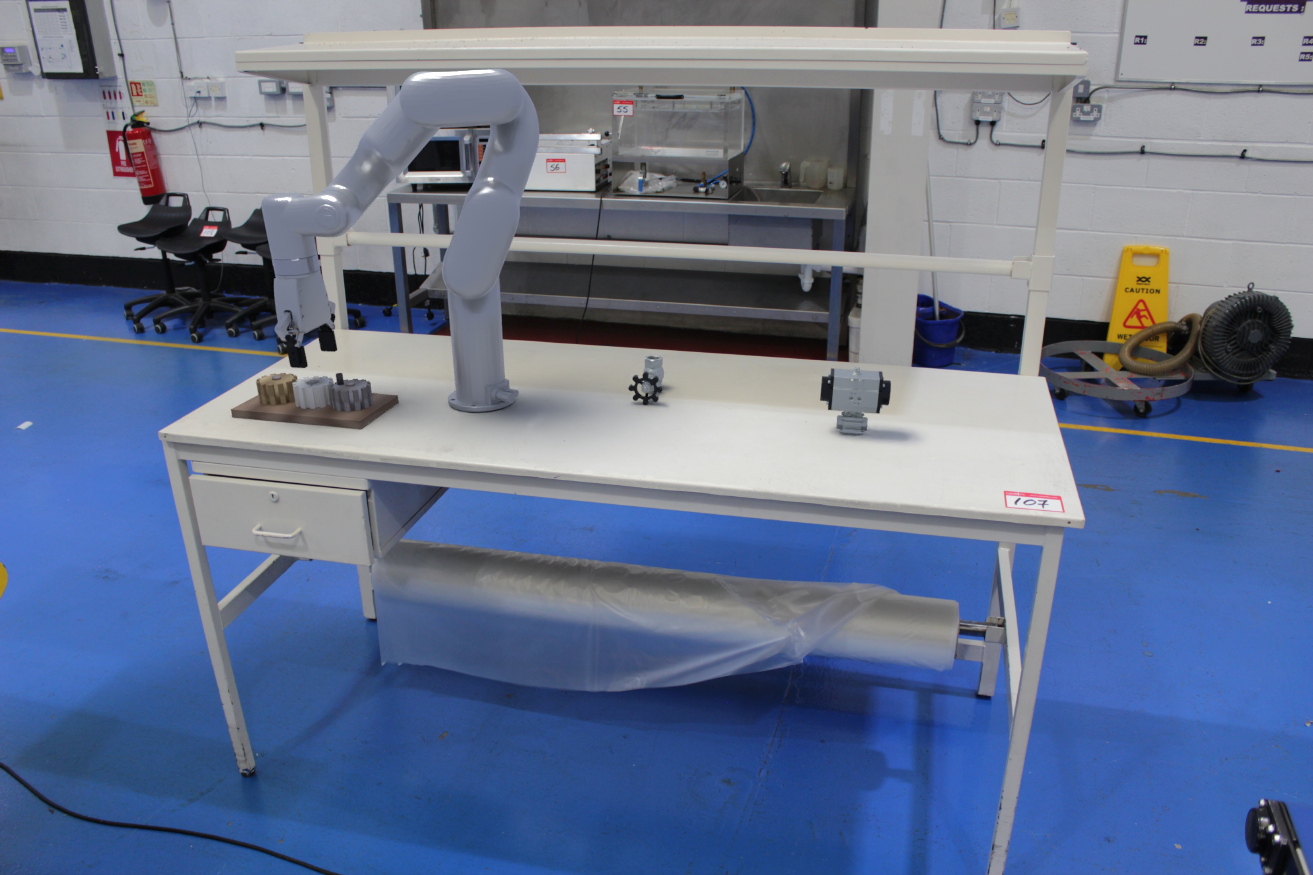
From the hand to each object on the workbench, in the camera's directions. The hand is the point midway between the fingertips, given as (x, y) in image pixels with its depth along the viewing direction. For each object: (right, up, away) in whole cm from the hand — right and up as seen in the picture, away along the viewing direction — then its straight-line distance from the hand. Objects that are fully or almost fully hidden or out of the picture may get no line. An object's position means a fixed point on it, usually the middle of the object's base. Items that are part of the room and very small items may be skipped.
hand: (314, 359), depth 161 cm
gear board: (-1, -9, +4) cm, 10 cm away
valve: (+62, -6, +13) cm, 63 cm away
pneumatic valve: (+97, -14, -5) cm, 99 cm away
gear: (-1, -8, +3) cm, 8 cm away
